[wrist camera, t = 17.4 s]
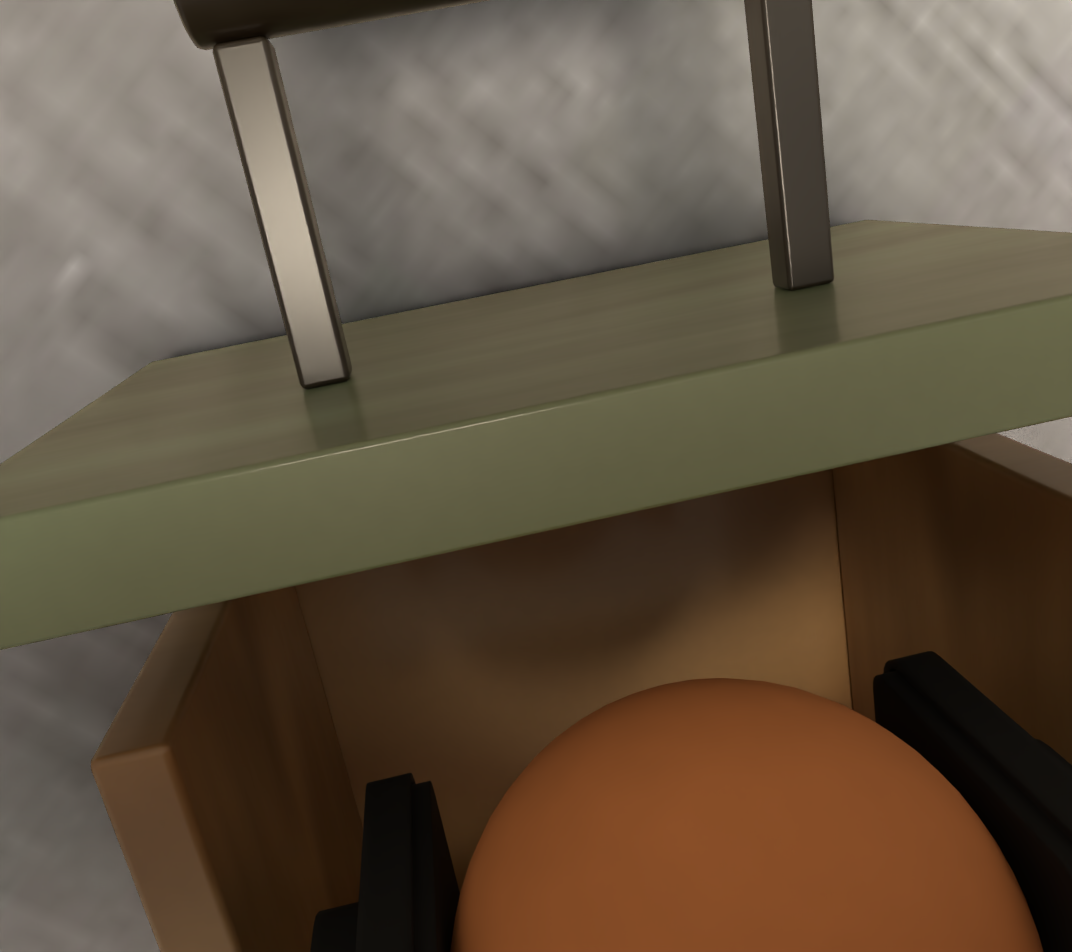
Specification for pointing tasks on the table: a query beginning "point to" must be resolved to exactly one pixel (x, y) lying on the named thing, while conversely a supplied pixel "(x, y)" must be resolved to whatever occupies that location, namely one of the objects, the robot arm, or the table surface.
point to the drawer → (539, 505)
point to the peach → (736, 837)
